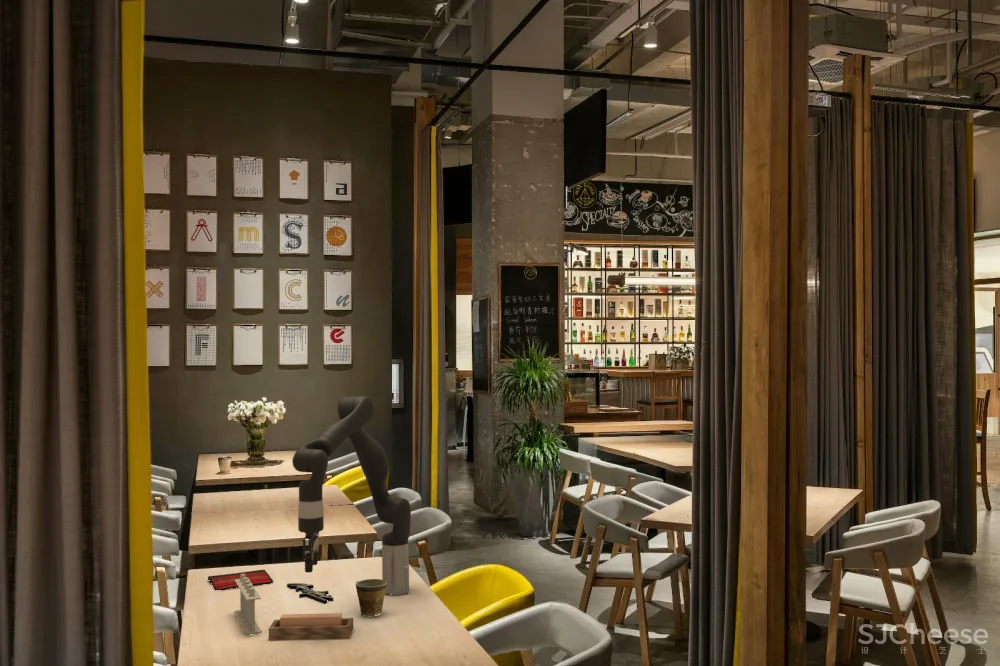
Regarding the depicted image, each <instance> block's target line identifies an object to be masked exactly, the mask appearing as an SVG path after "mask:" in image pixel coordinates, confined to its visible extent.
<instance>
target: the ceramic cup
mask: <svg viewBox="0 0 1000 666" xmlns="http://www.w3.org/2000/svg"><path fill="white" fill-rule="evenodd" d="M386 585H387V582H386V581H385V580H382V578H381V579H379V578H368V579H362V580H358V581H356V582H355V589H356V595H357V598H358V604H359V609H360V615H361V614H362V615H361V616H363V615H365V616H364V617H366V616H375V615H378V614H381V615H382V611H383V605H384V599H385V595H386V594H385V591H386ZM378 616H379V615H378ZM375 617H376V616H375Z"/></svg>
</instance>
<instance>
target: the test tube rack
mask: <svg viewBox="0 0 1000 666" xmlns="http://www.w3.org/2000/svg"><path fill="white" fill-rule="evenodd" d="M235 582H236V584H237V585H238V587H239V588H238V589H239V590H240V597H239V599H240V609H238V610H237V609H236V610H234V614H235V613H236V614H235V616H236V615H237V616H236V618H237V617H238V618H237V620H238V619H239V620H238V621H240V622H239V624H240V623H241V624H240V626H241V625H242V626H241V628H242V627H243V628H242V630H243V629H244V630H243V631H245V632H244V634H245V633H246V634H245V635H249V636H251V635H250V634H256V635H260V634H259V633H261V634H262V629H261V628H260V627H259V625H258V623H257V621H256V610H255V608H256V605H255V604H256V601H257V600H261V599H262V596H260V594H259V592H258V591H257V589H256V588H255V586H253V585H252V583H251V582H250V580H249V579H248V578H247V577H246V576H245V574H241V576H240V579H235Z"/></svg>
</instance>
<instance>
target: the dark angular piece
mask: <svg viewBox="0 0 1000 666" xmlns="http://www.w3.org/2000/svg"><path fill="white" fill-rule="evenodd" d="M287 587H288V588H287ZM289 587H290V588H289ZM286 588H287V589H289V590H295V592H296V593H299V592H301V593H299V595H298V596H299V597H298V598H299V599H301V598H308V599H311V600H312V599H313V601H314V602H318V603H321V604H323V605H326V603H327V604H328V602H334V597H333V596H332V595H329V590H313V589H314V584H307V583H303V582H293V583H292V582H291V583H287V584H286ZM311 588H313V589H311ZM326 594H328V595H326ZM327 600H328V601H327Z"/></svg>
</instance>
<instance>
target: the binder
mask: <svg viewBox="0 0 1000 666" xmlns="http://www.w3.org/2000/svg"><path fill="white" fill-rule="evenodd" d="M241 574H245V576H246V577H247V578H248V579H249V580H250V582H251V583H252V585H256V586H264V585H263V584H267V585H271V583H272V584H273V583H274V580H273V578H272V577H271V575H270V574H269V573H268V572H267V571H266V570H265V569H258V570H250V571H249V570H248V571H242V572H235V573H225V574H218V575H209V576H207V581H208V580H210V581H209V582H210V583H212V585H213V587H214V588H213V587H212V588H213V590H214V589H215V590H214V591H216V590H222V591H225V590H224V589H228V590H231V589H230V588H235V589H237V588H236V587H238V585H237V584H236V582H235V579H240V576H241Z"/></svg>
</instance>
